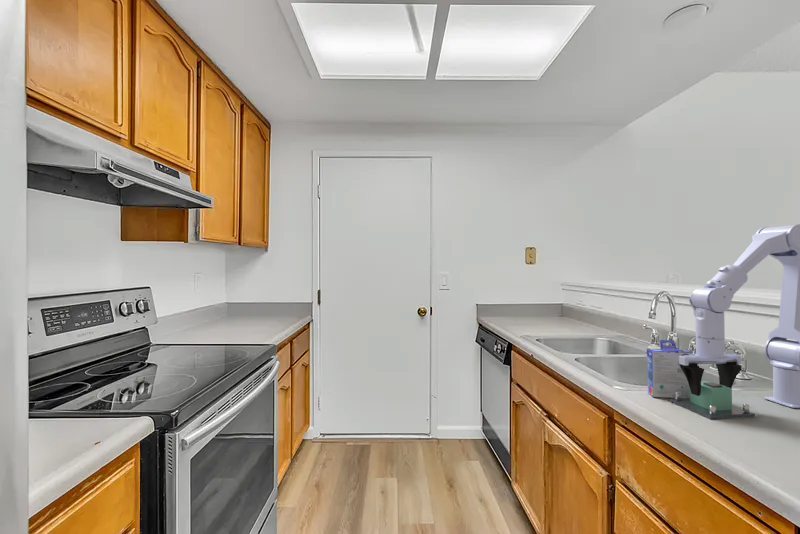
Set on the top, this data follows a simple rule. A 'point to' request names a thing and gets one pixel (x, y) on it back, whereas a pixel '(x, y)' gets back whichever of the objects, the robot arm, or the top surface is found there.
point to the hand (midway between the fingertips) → (710, 394)
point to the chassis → (712, 409)
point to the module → (713, 396)
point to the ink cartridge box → (666, 371)
